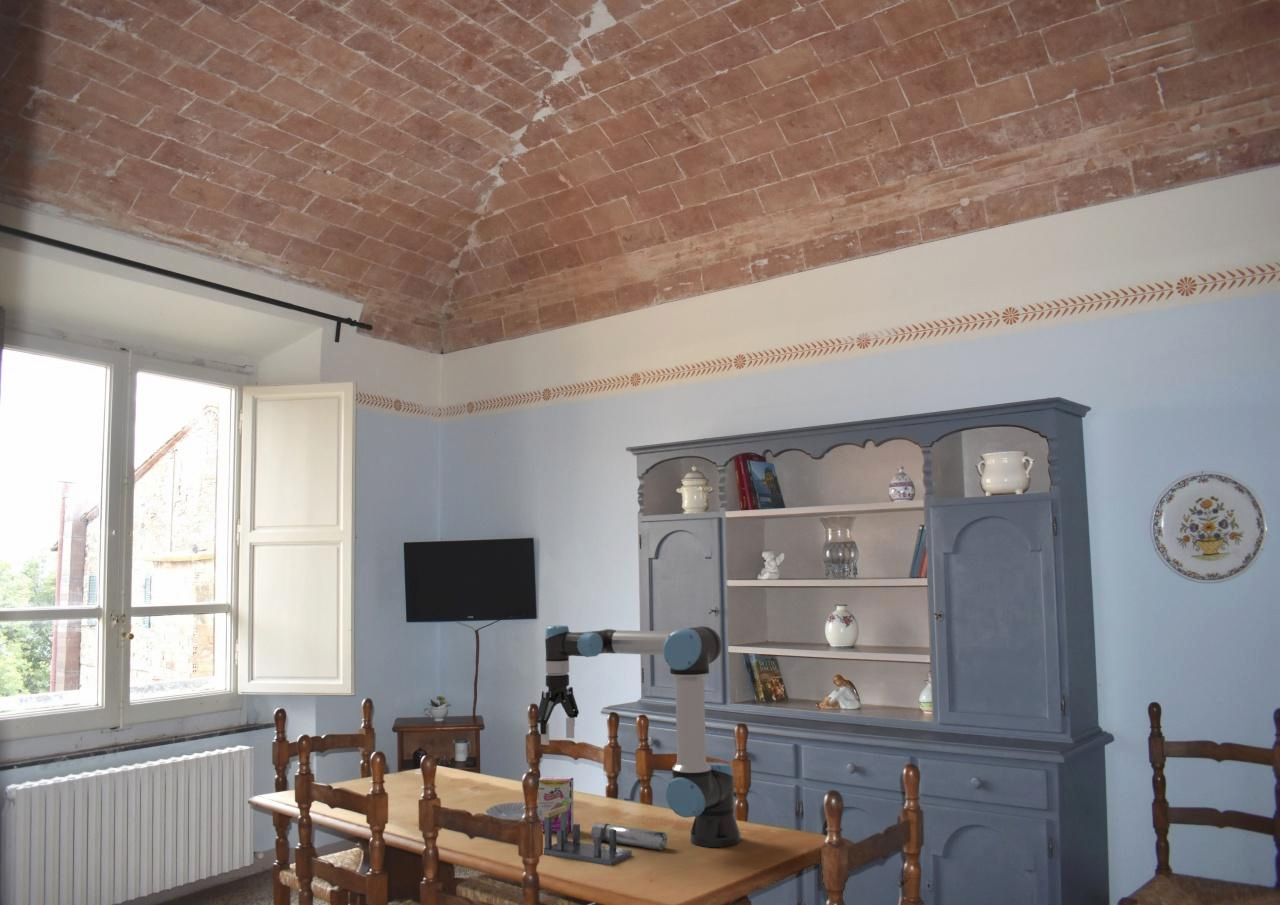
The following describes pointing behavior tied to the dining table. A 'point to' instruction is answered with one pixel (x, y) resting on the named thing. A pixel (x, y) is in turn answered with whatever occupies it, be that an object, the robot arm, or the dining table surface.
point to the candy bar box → (555, 800)
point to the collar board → (578, 849)
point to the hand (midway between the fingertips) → (557, 741)
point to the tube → (631, 836)
